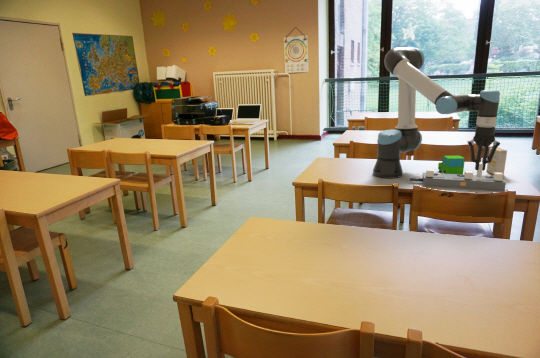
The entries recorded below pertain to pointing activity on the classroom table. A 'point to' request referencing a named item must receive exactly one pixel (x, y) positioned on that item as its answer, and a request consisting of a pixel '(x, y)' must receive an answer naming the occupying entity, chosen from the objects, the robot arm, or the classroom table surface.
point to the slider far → (498, 176)
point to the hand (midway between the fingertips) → (478, 176)
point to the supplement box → (497, 161)
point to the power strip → (461, 182)
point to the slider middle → (468, 175)
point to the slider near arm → (429, 173)
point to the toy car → (452, 165)
